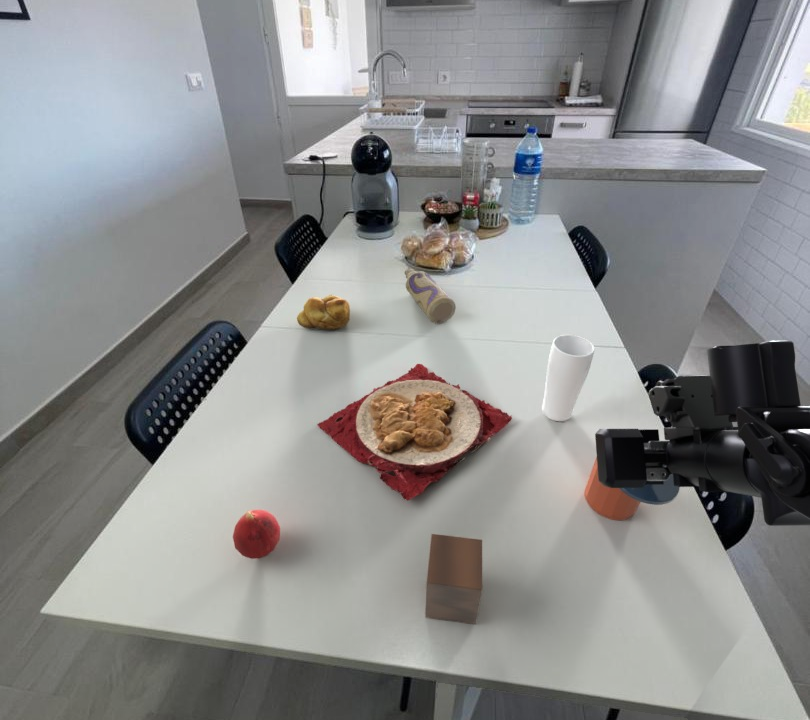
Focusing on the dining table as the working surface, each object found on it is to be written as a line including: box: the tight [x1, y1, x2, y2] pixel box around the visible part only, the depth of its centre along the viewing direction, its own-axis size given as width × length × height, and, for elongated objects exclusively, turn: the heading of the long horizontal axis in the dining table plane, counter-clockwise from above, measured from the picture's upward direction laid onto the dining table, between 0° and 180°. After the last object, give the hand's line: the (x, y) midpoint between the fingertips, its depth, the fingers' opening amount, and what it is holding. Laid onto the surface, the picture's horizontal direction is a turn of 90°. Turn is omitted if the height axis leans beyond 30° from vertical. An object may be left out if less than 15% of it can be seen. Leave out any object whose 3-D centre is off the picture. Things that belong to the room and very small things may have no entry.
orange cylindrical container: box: [584, 456, 641, 521], centre depth 64 cm, size 7×7×8 cm
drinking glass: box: [541, 334, 596, 422], centre depth 78 cm, size 7×7×15 cm
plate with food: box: [316, 363, 513, 501], centre depth 79 cm, size 24×26×4 cm
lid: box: [619, 466, 680, 506], centre depth 55 cm, size 8×8×6 cm
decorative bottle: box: [404, 267, 457, 324], centre depth 116 cm, size 26×8×7 cm, turn 18°
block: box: [424, 533, 483, 625], centre depth 53 cm, size 6×6×8 cm
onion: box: [232, 509, 281, 560], centre depth 58 cm, size 6×6×8 cm
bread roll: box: [296, 294, 351, 331], centre depth 106 cm, size 13×10×8 cm
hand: (646, 453), depth 56 cm, fingers closed on lid, 2 cm apart
